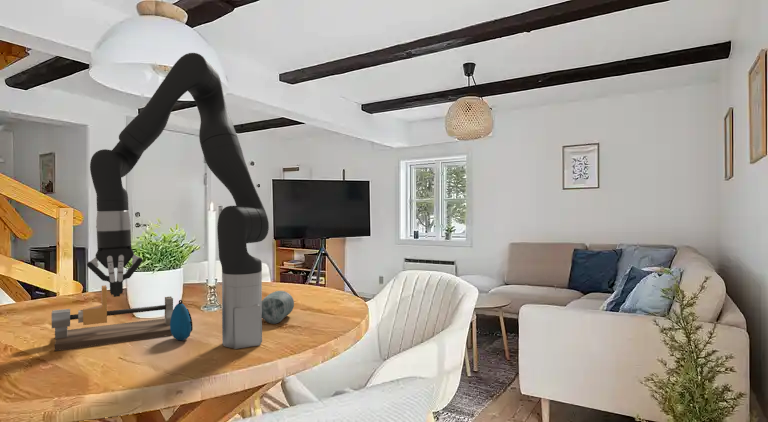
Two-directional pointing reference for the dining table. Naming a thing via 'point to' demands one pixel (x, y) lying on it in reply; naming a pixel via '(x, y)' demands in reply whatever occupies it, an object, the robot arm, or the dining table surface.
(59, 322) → the wooden bar clamp
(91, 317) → the l-shaped tan slider
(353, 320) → the dining table surface
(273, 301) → the grey textured cylinder
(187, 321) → the ornament
